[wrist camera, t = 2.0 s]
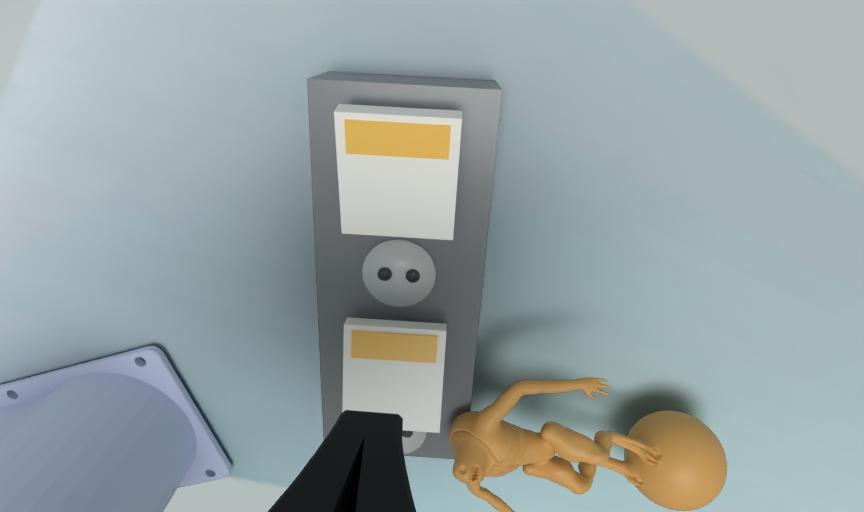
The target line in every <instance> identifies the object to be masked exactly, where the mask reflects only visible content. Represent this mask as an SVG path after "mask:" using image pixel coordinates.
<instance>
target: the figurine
mask: <svg viewBox="0 0 864 512" xmlns="http://www.w3.org/2000/svg"><path fill="white" fill-rule="evenodd" d="M600 381H604V382H606V381H607V380H605V379H600V378H582V379H577V380H522V381H518V382H516V383H514V384H513V385H512V386H510V387H509V388H508V389H507V390H506V391H505V392H504V393H503V394H502V395H500V396H499V397H498V398H497V399H496V401H495V402H494V403H493V404H491V405H490V406H488V407H487V408H485V409H483V410H482V411H480V412H477V411H470V412H465V413H463V414H461V415H459V416H458V417H457V418H456V419H455V420H454V421H453V423H452V425H451V427H450V432H449V439H450V443H451V445H452V449H453V452H454V455H455V462H454V466H453V475H454V477H455V478H456V479H458V480H459V481H461V482H463V483H466V484H467V487H468V489H469V490H470V491H471V492H472V493H473V494H474V495H475V496H477V497H479V498H481V499H484V500H485V501H487V502H488V503H489V504H490V505H492V506H493V507H494V508H495V509H497V510H498V511H499V512H514V511H513V510H512V509H511V508H510V507H509V506H508V505H507V504H506V503H505V502H504V501H503V500H502V499H500V498H499V497H498V496H496V495H494V494H493V493H491V492H490V491H489V490H488V489H486V488H483V487H481V486H480V482H481V481H482V480H483V479H484V476H487V477H499V475H500V476H503V475H505V474H507V473H509V472H511V471H513V470H515V469H517V468H518V467H519V466H523V471H524V472H525V473H526V474H528V475H533V476H536V477H539V478H545V479H548V480H550V481H552V482H554V483H557V484H559V485H561V486H563V487H566V488H568V489H570V490H571V491H572V492H574V493H575V494H584V493H585V492H587V491H588V490H589V489H590V488H591V485H592V482H593V478H594V475H595V472H596V465H599V466H603V467H606V468H608V469H611V470H613V471H616V472H618V473H621V474H622V475H624V476H625V477H626V478H627V479H628V481H629V482H631V483H632V484H634V485H635V486H636V487H637V488H638V490H639V491H640V492H641V493H642V494H643V495H644V496H646V497H647V498H648V499H649V500H651V501H652V502H654V503H656V504H658V505H660V506H662V507H665V508H668V509H671V510H677V511H690V510H695V509H699V508H701V507H704V506H706V505H707V504H709V503H710V502H712V501H713V500H714V499H715V498H716V497H717V496H718V495H719V493H720V492H721V490H722V488H723V486H724V484H725V481H726V476H727V461H726V456H725V453H724V450H723V447H722V445H721V443H720V441H719V440H718V438H717V437H716V435H715V434H714V433H713V432H712V431H711V430H710V429H709V428H708V427H707V426H706V425H705V424H704V423H702V422H701V421H700V420H698V419H696V418H695V417H693V416H690V415H688V414H685V413H682V412H678V411H658V412H654V413H651V414H648V415H646V416H644V417H643V418H641V419H640V420H639V421H638V422H636V423H635V425H634V426H633V427H632V428H631V430H630V432H629V433H628V436H625V435H622V434H619V433H615V432H612V431H607V432H605V431H598V432H597V433H596V434H595V437H594V441H595V442H594V441H593V440H591V439H590V438H588V437H587V436H585V435H583V434H580V433H578V432H575V431H573V430H571V429H569V428H565V427H563V426H562V425H560V424H558V423H556V422H547V423H545V424H544V425H543V427H542V429H541V432H540V433H536V432H533V431H530V430H526V429H522V428H520V427H518V426H516V425H513V424H510V423H508V422H506V421H504V420H502V419H503V418H504V417H505V416H506V415H507V413H508V412H509V411H510V410H511V409H512V408H513V407H514V405H515V404H516V403H517V402H518V401H519V399H520V398H521V397H522V396H523V395H529V394H539V393H562V392H568V391H573V390H583V391H584V392H585V394H586V395H587V396H588V397H590V398H591V399H593V400H596V398H595V397H594V396H593V395H592V392H596V393H600V394H604V395H607V396H609V394H608V393H606V392H604V391H602V390H600V389H599V387H603V388H610V386H608V385H605V384H600V383H599V382H600ZM612 443H613V444H615V445H618V446H621V447H623V448H624V460H625V461H621V460H617V459H614V458H610V450H611V447H612ZM555 452H556V453H557V454H558V455H559V456H560V457H558V456H555ZM561 457H562V458H561ZM569 461H570V462H579V465H578V468H579V471H580V473H581V474H580V473H578V472H576V471H575V470H574V468H573V466H572V465H571V463H570V462H569Z"/></svg>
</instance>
